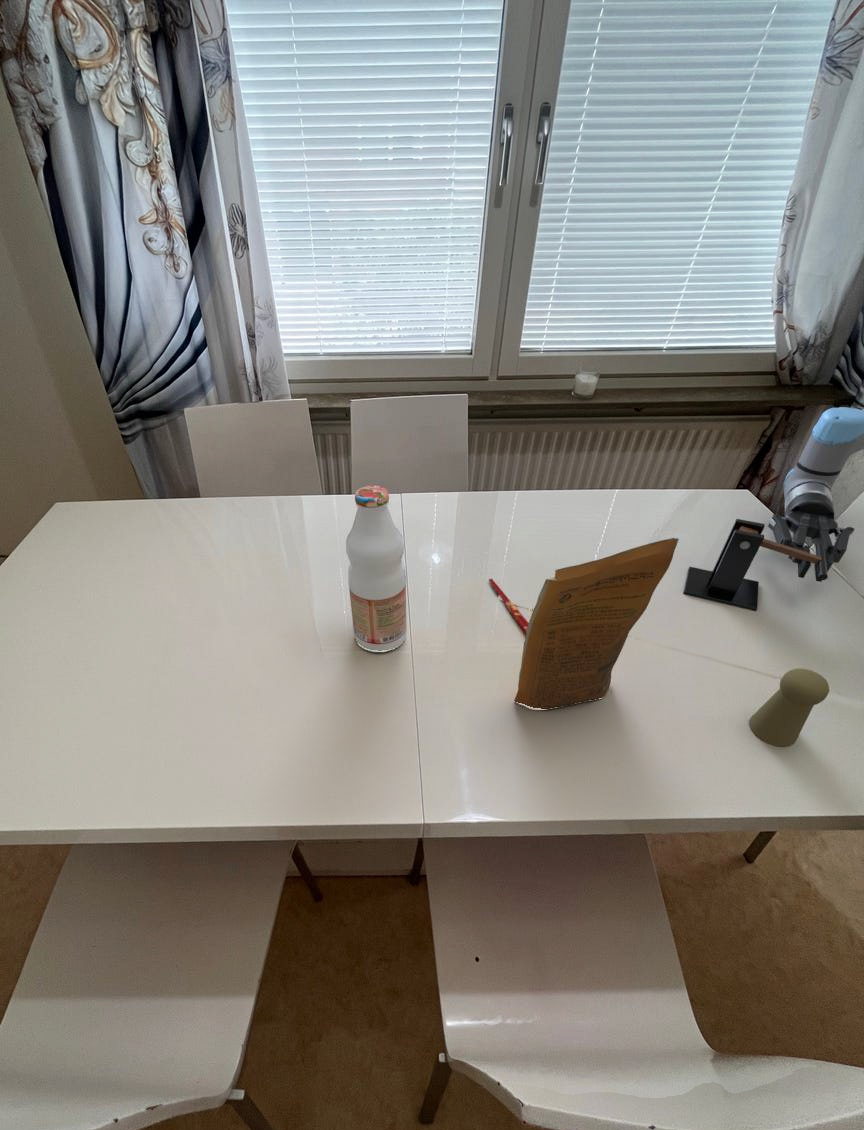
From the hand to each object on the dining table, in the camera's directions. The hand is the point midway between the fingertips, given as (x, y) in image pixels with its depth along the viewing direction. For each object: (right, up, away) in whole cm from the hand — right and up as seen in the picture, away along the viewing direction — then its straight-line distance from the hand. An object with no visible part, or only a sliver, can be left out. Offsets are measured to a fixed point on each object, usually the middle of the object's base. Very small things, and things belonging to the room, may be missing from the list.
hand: (813, 572), depth 90 cm
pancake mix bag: (-44, -21, -7) cm, 50 cm away
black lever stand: (-9, -2, +11) cm, 14 cm away
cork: (-16, -25, -13) cm, 32 cm away
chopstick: (-48, -7, +8) cm, 50 cm away
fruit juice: (-73, -11, +5) cm, 74 cm away
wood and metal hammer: (-5, +4, +2) cm, 6 cm away
